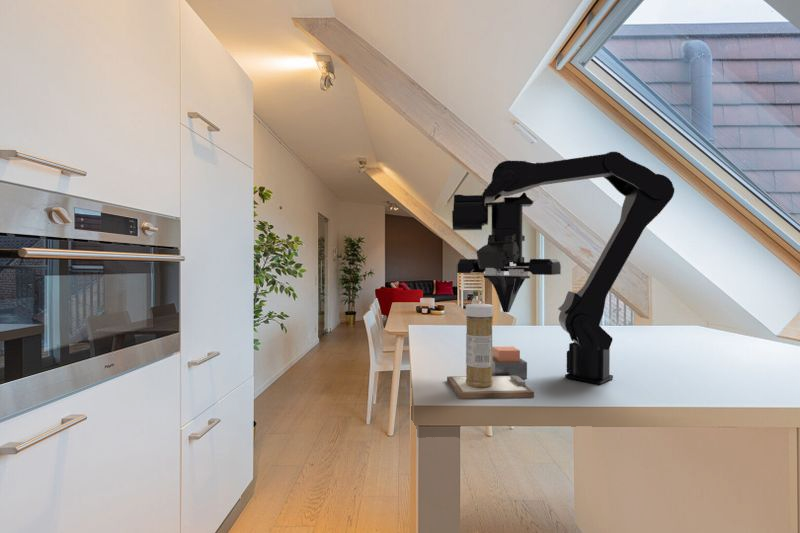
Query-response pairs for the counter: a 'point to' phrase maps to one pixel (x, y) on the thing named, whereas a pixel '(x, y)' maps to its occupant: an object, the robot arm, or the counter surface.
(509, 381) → the clipboard
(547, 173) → the robot arm
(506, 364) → the button housing
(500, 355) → the button
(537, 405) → the counter surface
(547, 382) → the counter surface
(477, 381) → the sprinkles bottle
